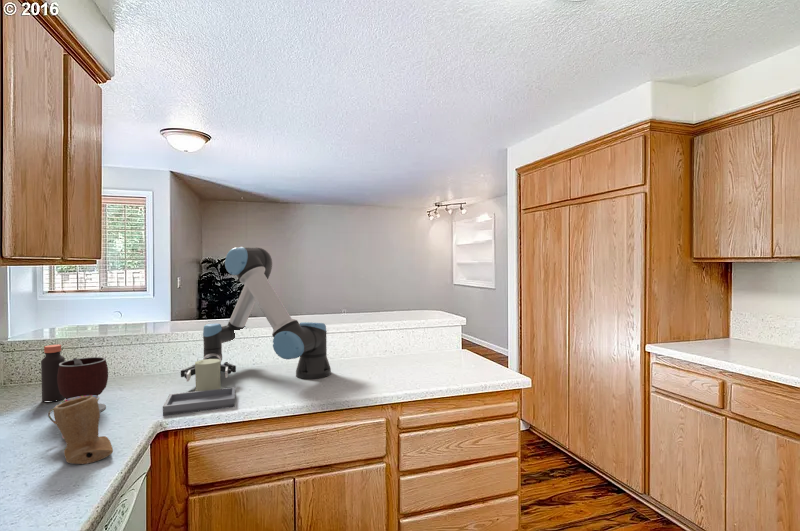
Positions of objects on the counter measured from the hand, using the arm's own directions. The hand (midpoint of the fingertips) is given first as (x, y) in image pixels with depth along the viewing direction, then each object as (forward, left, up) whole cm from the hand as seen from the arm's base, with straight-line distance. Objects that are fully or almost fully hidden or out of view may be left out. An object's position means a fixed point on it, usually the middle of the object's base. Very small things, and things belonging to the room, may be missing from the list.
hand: (207, 376), depth 164 cm
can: (0, -3, -7) cm, 7 cm away
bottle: (+53, -13, -7) cm, 55 cm away
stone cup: (+26, +46, -7) cm, 54 cm away
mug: (+33, +31, -7) cm, 46 cm away
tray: (+1, +14, -7) cm, 15 cm away
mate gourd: (+38, +7, -7) cm, 39 cm away
